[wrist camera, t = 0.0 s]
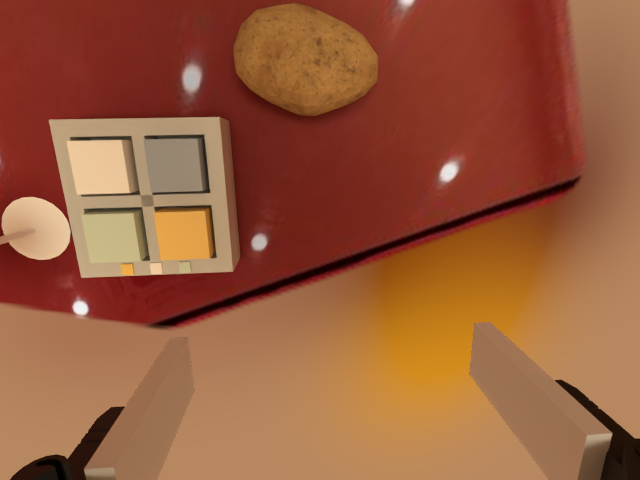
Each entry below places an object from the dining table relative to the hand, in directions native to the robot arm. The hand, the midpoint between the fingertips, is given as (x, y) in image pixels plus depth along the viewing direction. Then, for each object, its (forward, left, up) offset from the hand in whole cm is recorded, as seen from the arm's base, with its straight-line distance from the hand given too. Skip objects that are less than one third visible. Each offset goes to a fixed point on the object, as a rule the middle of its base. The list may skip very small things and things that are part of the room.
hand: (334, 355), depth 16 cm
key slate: (-8, -13, -24) cm, 29 cm away
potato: (-17, 0, -28) cm, 33 cm away
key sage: (-1, -20, -24) cm, 32 cm away
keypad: (-4, -17, -28) cm, 33 cm away
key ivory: (-8, -20, -24) cm, 32 cm away
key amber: (-1, -13, -24) cm, 28 cm away
